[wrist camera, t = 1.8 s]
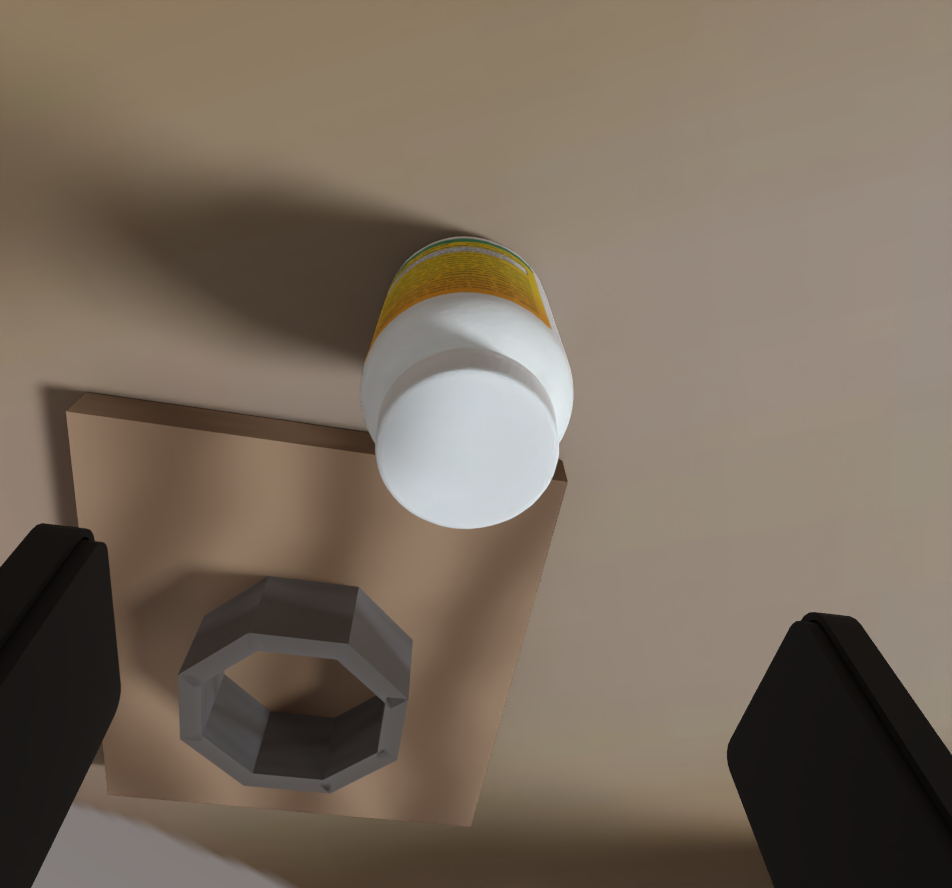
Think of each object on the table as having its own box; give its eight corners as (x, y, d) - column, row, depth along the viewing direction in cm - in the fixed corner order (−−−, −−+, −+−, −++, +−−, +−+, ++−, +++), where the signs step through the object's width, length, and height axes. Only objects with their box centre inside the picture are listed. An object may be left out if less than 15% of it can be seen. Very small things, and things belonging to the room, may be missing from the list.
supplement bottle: (571, 344, 24) (631, 498, 16) (435, 411, 26) (424, 590, 17) (499, 199, 22) (525, 292, 14) (352, 281, 23) (293, 413, 15)
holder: (562, 460, 27) (580, 532, 23) (470, 798, 36) (471, 890, 32) (86, 392, 25) (16, 456, 21) (121, 766, 34) (77, 859, 30)
